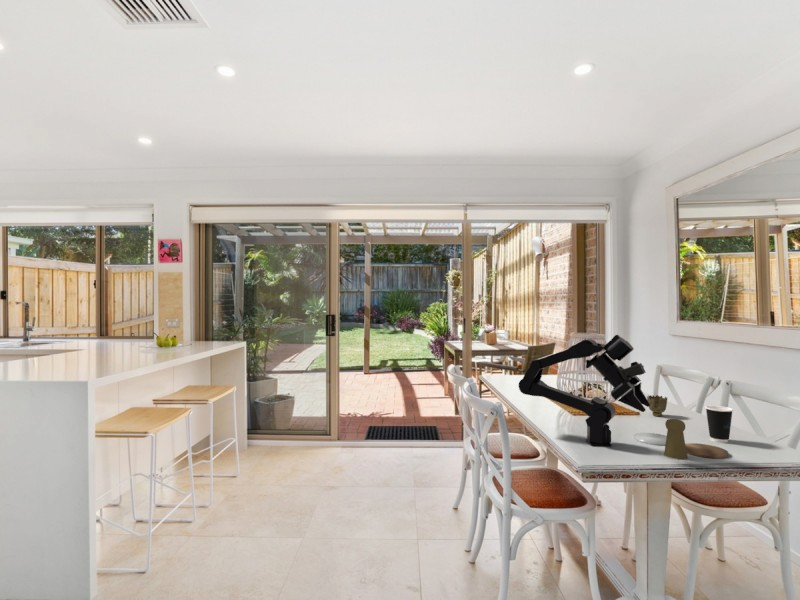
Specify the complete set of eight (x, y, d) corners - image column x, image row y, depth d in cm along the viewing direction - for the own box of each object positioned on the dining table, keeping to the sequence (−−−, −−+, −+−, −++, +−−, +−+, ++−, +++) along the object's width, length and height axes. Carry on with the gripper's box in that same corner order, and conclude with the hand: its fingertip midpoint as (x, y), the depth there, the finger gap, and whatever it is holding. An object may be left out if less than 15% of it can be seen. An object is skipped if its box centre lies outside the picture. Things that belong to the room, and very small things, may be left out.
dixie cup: (735, 445, 149) (735, 411, 150) (706, 441, 153) (706, 409, 153) (732, 439, 156) (731, 407, 156) (704, 435, 160) (703, 404, 160)
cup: (643, 414, 193) (642, 395, 193) (656, 413, 195) (656, 394, 195) (657, 418, 185) (657, 398, 186) (671, 417, 188) (671, 397, 188)
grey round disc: (643, 446, 150) (643, 443, 150) (628, 435, 162) (628, 432, 162) (681, 446, 149) (681, 443, 149) (663, 435, 161) (663, 432, 161)
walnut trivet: (694, 457, 137) (694, 454, 137) (674, 445, 149) (674, 442, 149) (737, 459, 136) (737, 455, 136) (714, 447, 147) (713, 443, 147)
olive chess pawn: (678, 452, 142) (678, 417, 142) (692, 459, 136) (691, 422, 136) (659, 452, 142) (659, 417, 142) (672, 459, 136) (671, 422, 136)
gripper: (622, 356, 139) (664, 397, 132) (633, 351, 154) (671, 388, 147) (595, 379, 143) (633, 420, 137) (608, 372, 158) (643, 409, 152)
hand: (646, 408), depth 143 cm, fingers open, 9 cm apart
